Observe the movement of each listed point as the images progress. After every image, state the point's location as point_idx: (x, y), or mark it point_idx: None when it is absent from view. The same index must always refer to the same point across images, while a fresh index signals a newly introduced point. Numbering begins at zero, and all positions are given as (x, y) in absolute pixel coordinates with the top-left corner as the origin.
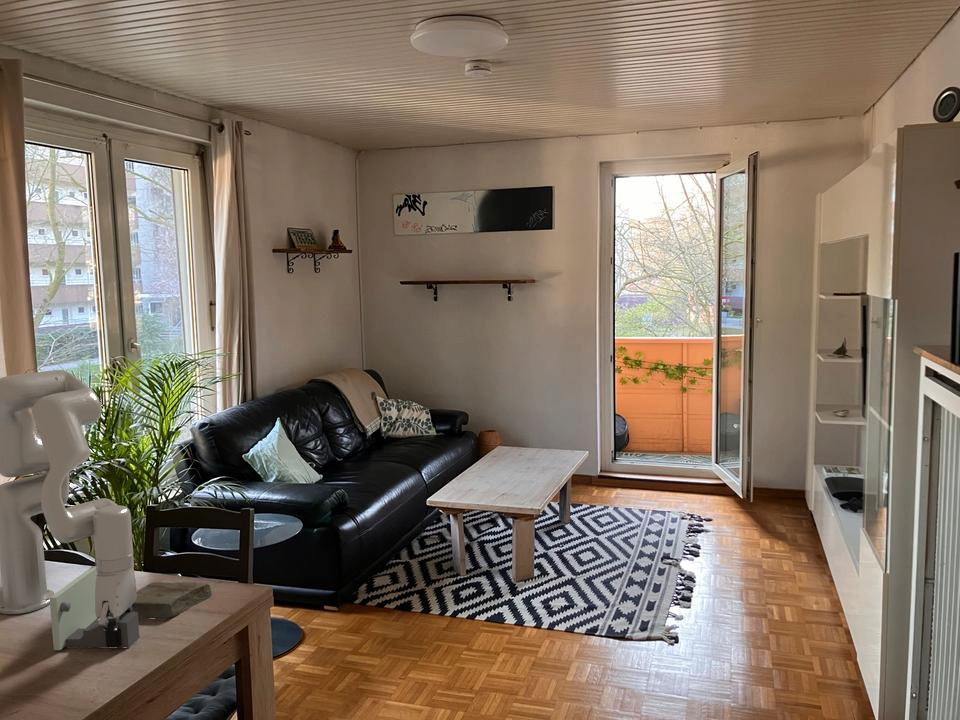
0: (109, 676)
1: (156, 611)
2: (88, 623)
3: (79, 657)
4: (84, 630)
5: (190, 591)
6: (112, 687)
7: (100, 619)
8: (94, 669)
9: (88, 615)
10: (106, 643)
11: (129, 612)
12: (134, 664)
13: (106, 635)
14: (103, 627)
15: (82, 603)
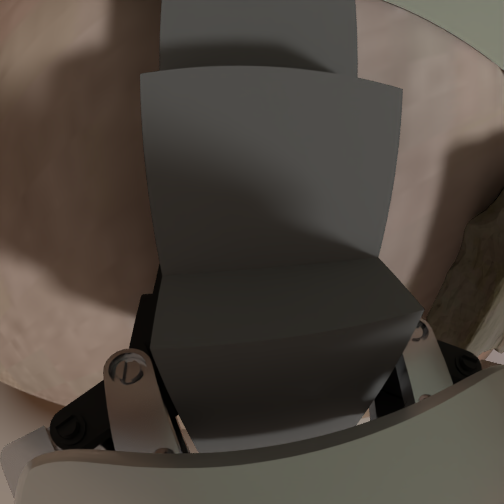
0: (23, 350)
1: (457, 311)
2: (438, 19)
3: (61, 144)
4: (145, 87)
5: (494, 347)
6: (6, 369)
7: (13, 488)
8: (17, 289)
9: (476, 19)
10: (159, 267)
11: (362, 412)
12: None
13: (151, 311)
14: (62, 416)
15: None
